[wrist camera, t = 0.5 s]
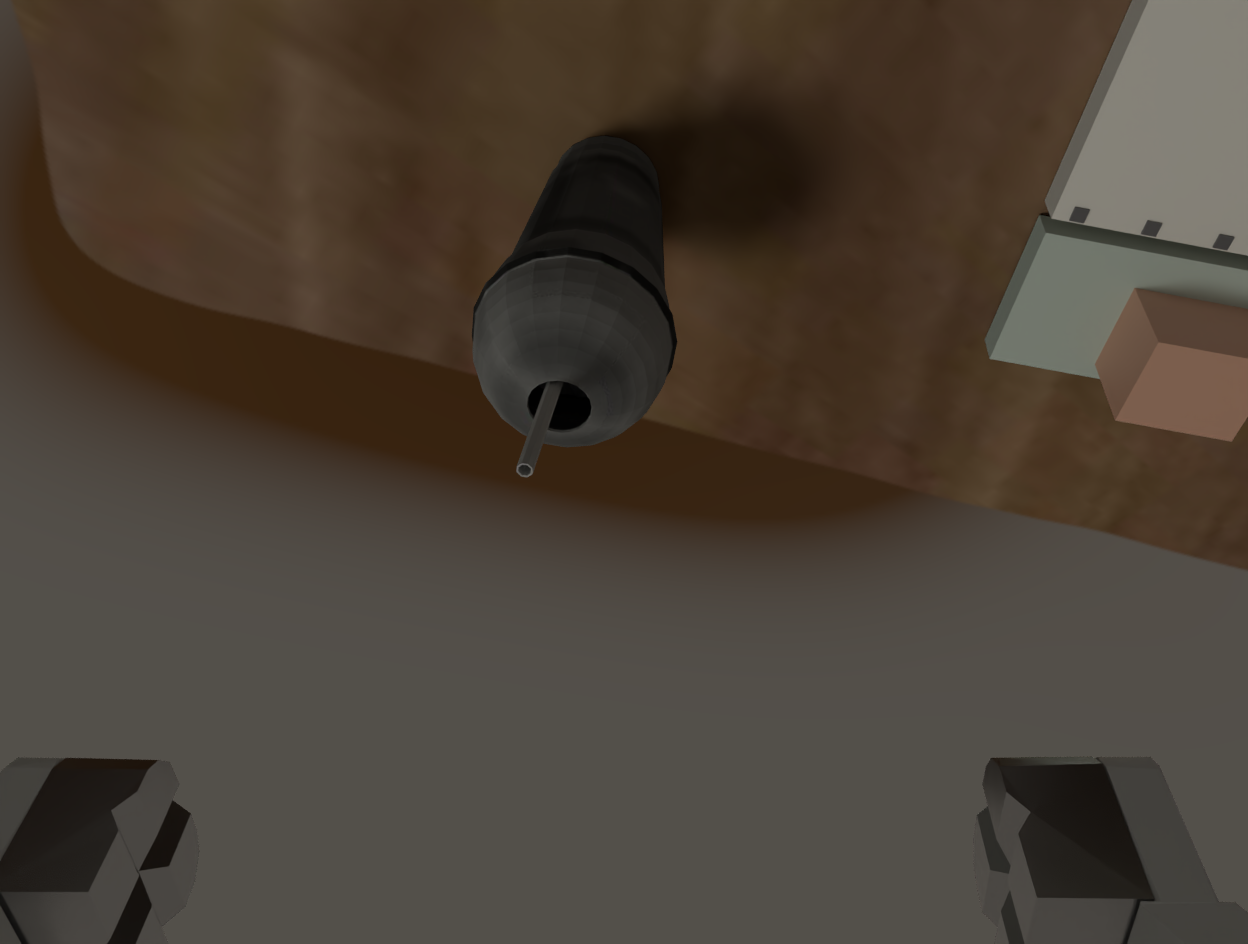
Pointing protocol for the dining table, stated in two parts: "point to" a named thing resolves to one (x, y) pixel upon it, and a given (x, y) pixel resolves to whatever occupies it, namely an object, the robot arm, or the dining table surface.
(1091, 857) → the robot arm
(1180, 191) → the board
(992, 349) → the green slab pink block
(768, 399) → the dining table surface
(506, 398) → the beverage cup
